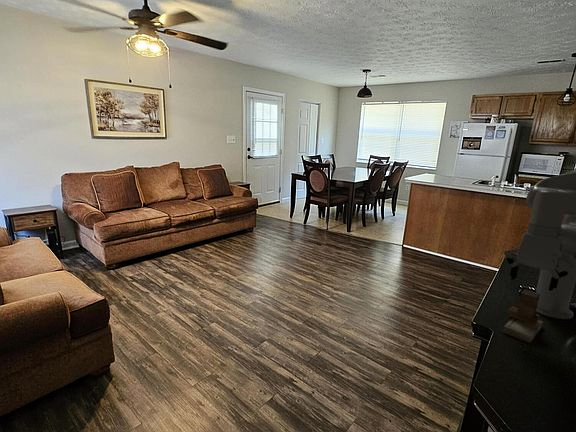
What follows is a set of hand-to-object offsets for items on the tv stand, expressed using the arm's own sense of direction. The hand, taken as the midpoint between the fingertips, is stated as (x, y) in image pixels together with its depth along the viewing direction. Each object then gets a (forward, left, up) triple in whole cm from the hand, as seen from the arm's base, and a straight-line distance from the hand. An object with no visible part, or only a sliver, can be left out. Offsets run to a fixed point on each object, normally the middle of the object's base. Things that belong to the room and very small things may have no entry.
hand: (531, 283), depth 99 cm
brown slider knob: (-1, 0, -15) cm, 15 cm away
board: (+2, +1, -15) cm, 15 cm away
